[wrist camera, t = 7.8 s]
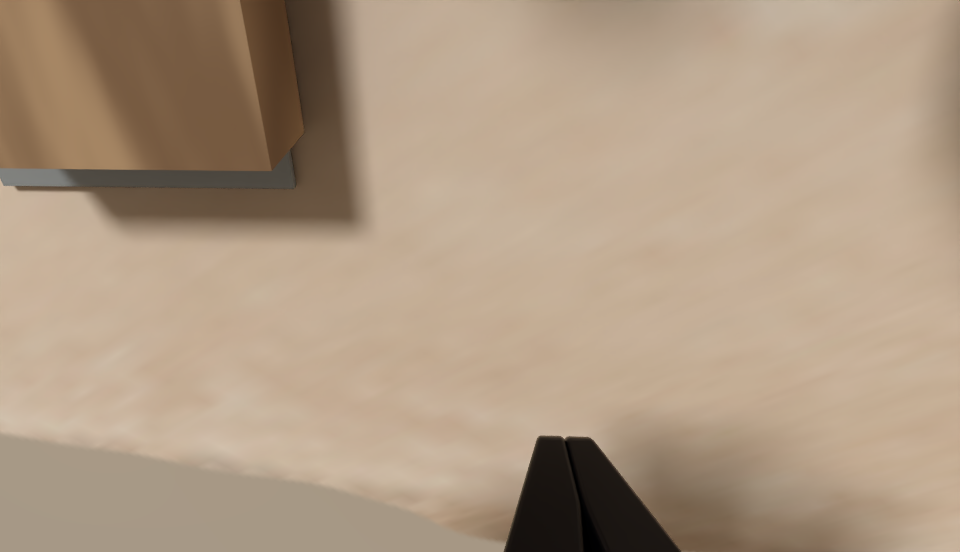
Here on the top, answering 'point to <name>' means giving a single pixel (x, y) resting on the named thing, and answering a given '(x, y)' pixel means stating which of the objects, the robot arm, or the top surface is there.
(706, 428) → the top surface
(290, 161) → the grey rubber mat
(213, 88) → the walnut slab
